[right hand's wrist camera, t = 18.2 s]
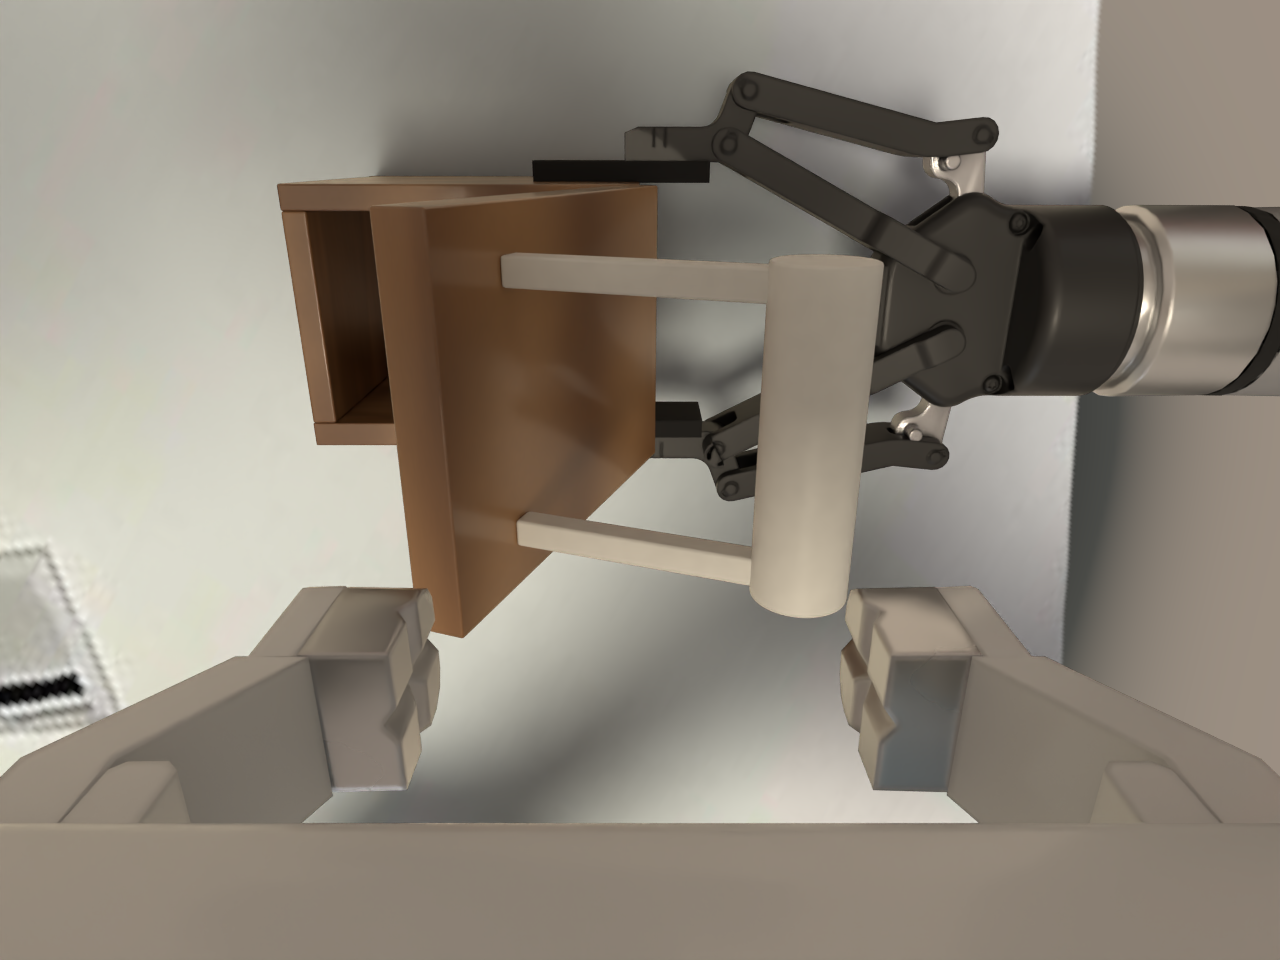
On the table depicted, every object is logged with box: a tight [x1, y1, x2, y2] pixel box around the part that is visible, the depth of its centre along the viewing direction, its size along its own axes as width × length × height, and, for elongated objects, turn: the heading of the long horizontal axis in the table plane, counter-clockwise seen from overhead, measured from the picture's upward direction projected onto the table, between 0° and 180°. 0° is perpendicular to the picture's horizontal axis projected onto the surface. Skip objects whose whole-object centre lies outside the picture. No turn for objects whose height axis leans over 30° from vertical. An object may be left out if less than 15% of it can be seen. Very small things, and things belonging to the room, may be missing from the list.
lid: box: [369, 185, 884, 638], centre depth 21 cm, size 13×9×9 cm
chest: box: [277, 176, 640, 445], centre depth 34 cm, size 12×9×11 cm
